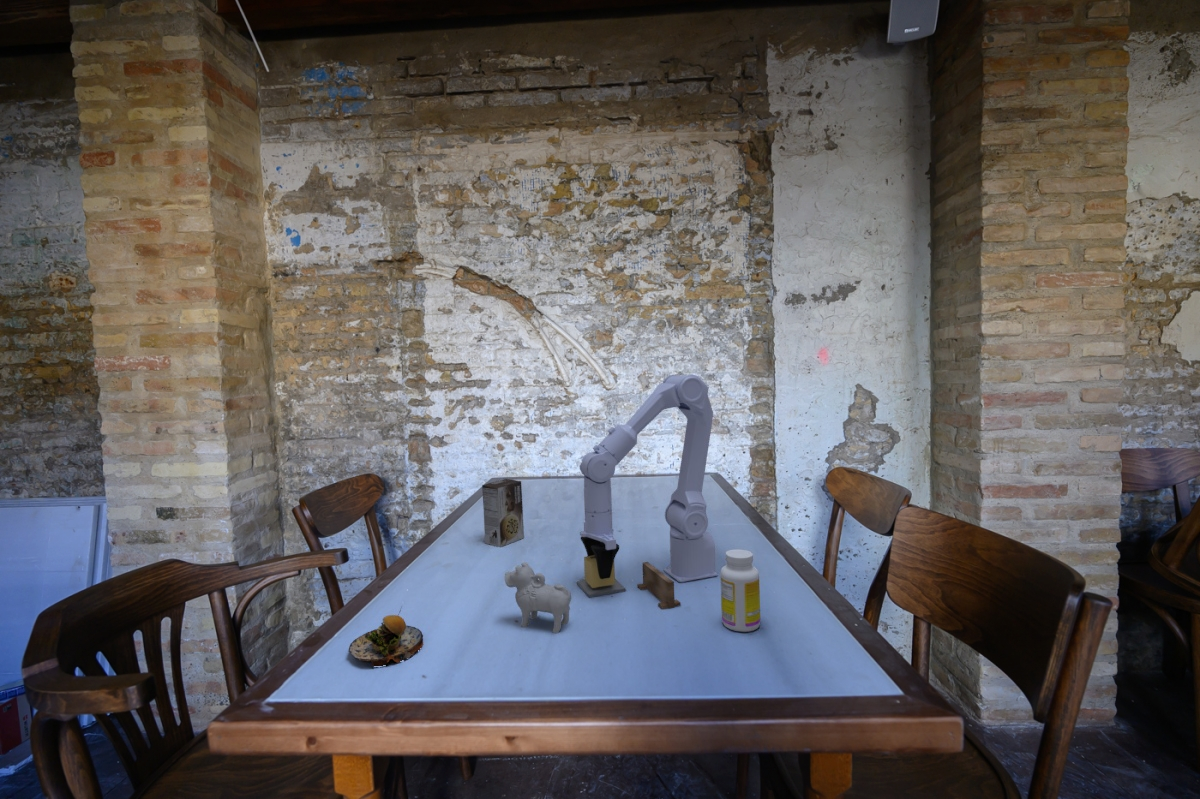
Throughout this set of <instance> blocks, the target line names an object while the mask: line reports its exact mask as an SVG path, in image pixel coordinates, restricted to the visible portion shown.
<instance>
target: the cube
mask: <svg viewBox="0 0 1200 799" xmlns="http://www.w3.org/2000/svg"><path fill="white" fill-rule="evenodd" d="M583 566H584V580H586V582H587V583H588V584H589V585H590V586H591V587H592V588H596V587H602V586H608V585H613V584H615V579H616V569H615V561H614V562H613V566H612V571H611V576H610V578H605V579H600V577H599V573H598V568H597V562H596V558H595V555H592V556H588V555H587V556H584V557H583Z"/></svg>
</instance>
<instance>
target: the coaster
mask: <svg viewBox="0 0 1200 799" xmlns="http://www.w3.org/2000/svg"><path fill="white" fill-rule="evenodd" d="M576 585H577V586H578V587H579V588H580V589H581V590H582V592H583V593H584V594H585V595H586V596H587V597H588V598H590V599H591V598H595V597H600V596H606V595H607V596H608V595H612V594H617V593H623V592H627V591H626V587H625V586H624V585H622V583H621V582H619V580H618V579H616V578H615V584H613V585H608V586H602V587H596V588H592V587H591V586H590V585H589V584H588V583H587V582H586V580H585V579H581V580H576Z"/></svg>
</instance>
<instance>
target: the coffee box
mask: <svg viewBox="0 0 1200 799" xmlns="http://www.w3.org/2000/svg"><path fill="white" fill-rule="evenodd" d="M481 488H482V505H483V508H482V509H483V523H484V524H483V526H484V528H483V529H484V544H486V545H489V544H490V546H493V545H494V546H493V547H498V548H503V547H505V546H507V545H510V544H513V543H515V542H517V541H519V540H522V539H524V538H525V532H524V527H525V526H524V509H523V493H522V489H523V488H522V481H521V480H517V479H516V480H515V479H508V478H504V479H501V480H500V479H499V480H496V481H492V482H489V483H488V482H487V483H484V484H482V487H481Z"/></svg>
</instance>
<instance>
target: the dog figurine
mask: <svg viewBox="0 0 1200 799" xmlns="http://www.w3.org/2000/svg"><path fill="white" fill-rule="evenodd" d="M514 569H515V570H513V571H507V572H505V573H504V582H505V585H506V587H508V588H516V592H515V597H514V598H515V602H516V605H517V607H519V609H520V612H521V614H522V615H521V616H522V621H521V624H520V627H521V628H523V629H524V628H527V627H528V626H529V624H530V622H529V619H534V620H535V619H536V618H538V613H539V612H540V613H541V612H542V613H547V614H551V615H552V616H553V629H552V633H553V634H558V633H559V632H561V626H562V625H565V624H568V623H569V622H570V610H571V607H570V603H571V601H572V594H571V591H569V590H568V589H567V588H566V586H564V585H562V584H560V583H555V584H554V585H551V584H547V583H546V578H545V575H544V574H543V573H540V572H538V573H535V571H534V570H533V568H532V567H531V566H530V565H529V563H527V562H525V561H524V562H522V563H521V565H516V566H515V568H514Z"/></svg>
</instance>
